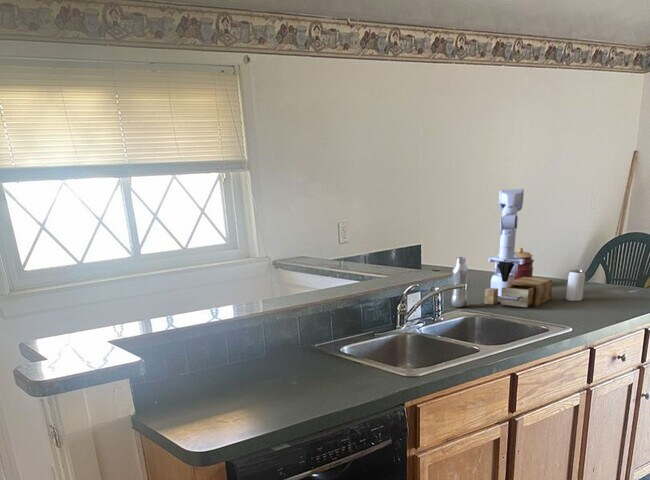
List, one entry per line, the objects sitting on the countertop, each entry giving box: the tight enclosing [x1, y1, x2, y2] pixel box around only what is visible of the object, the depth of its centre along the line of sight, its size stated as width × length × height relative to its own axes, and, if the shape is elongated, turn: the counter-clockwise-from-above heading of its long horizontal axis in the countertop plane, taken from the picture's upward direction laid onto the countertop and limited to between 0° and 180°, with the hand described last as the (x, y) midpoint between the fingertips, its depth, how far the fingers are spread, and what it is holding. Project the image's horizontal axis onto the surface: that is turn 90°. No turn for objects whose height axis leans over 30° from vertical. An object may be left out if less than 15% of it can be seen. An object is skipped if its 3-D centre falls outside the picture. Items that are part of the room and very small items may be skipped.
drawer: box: [500, 285, 536, 308], centre depth 267 cm, size 18×11×7 cm, turn 140°
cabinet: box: [509, 276, 553, 307], centre depth 274 cm, size 15×13×9 cm
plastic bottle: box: [450, 256, 469, 308], centre depth 267 cm, size 6×7×20 cm
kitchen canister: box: [514, 247, 535, 280], centre depth 303 cm, size 13×13×18 cm
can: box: [565, 269, 586, 302], centre depth 272 cm, size 6×6×12 cm
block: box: [484, 287, 499, 305], centre depth 274 cm, size 4×4×6 cm
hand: (504, 281), depth 265 cm, fingers closed
